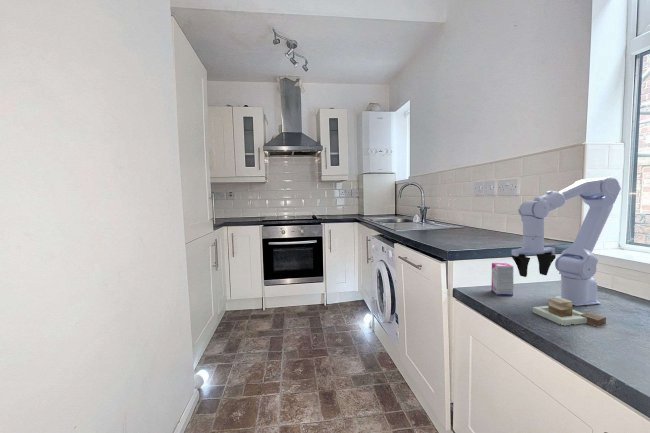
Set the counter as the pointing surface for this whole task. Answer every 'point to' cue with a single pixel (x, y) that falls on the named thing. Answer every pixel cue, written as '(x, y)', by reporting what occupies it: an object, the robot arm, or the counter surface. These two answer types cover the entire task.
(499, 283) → the supplement box
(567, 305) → the tan cube
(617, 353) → the counter surface
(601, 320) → the walnut brick
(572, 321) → the base plate
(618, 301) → the counter surface
